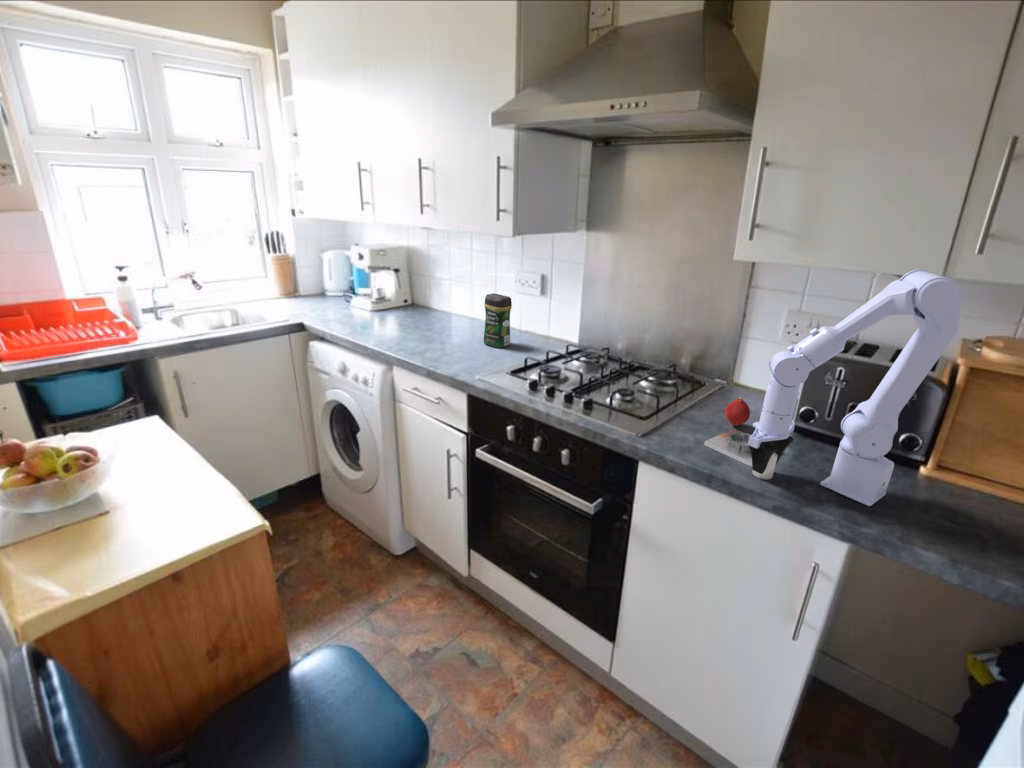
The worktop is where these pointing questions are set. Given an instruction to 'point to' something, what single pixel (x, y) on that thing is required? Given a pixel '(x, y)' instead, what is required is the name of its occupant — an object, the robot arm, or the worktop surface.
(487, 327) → the coffee jar
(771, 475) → the knob
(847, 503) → the worktop surface
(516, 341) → the worktop surface
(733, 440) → the hub plate
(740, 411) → the onion
